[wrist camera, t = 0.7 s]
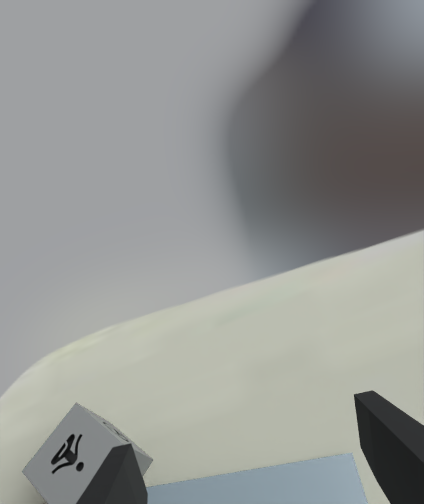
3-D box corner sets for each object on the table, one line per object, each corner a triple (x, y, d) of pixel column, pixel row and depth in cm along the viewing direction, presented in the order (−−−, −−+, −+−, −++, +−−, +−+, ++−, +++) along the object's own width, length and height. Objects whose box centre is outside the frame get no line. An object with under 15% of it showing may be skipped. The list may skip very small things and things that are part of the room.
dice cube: (110, 422, 30) (76, 402, 26) (154, 459, 27) (122, 443, 23) (65, 483, 28) (21, 471, 24) (108, 530, 25) (65, 525, 21)
